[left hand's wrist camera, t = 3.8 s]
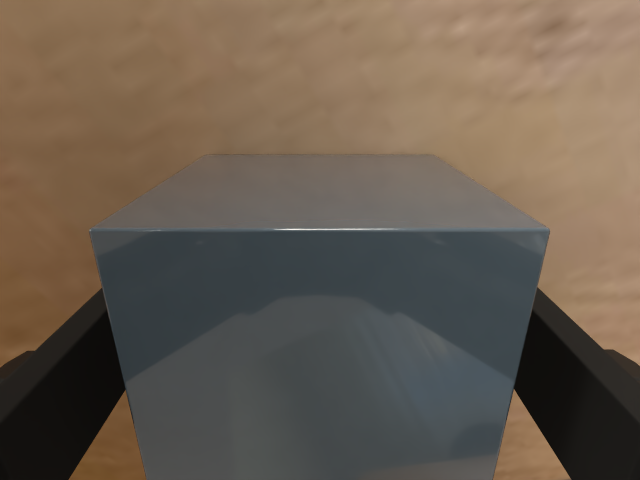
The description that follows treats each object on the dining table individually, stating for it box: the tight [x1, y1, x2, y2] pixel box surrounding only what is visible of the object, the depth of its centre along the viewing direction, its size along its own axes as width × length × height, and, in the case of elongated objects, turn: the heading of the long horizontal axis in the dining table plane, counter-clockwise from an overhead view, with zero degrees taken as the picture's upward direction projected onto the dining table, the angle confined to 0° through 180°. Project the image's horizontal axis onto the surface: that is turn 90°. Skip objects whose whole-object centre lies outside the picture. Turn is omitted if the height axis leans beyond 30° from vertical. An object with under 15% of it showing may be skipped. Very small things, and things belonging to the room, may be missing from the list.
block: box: [89, 155, 550, 480], centre depth 12 cm, size 9×8×8 cm
